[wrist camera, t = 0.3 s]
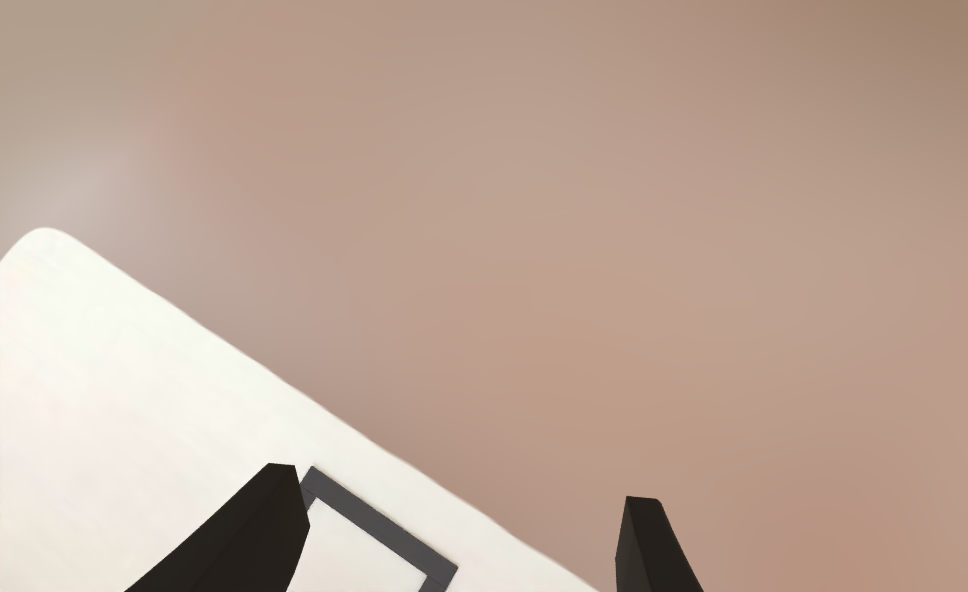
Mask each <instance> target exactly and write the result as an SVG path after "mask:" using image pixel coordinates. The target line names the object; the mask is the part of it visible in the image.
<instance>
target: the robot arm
mask: <svg viewBox="0 0 968 592" xmlns="http://www.w3.org/2000/svg"><path fill="white" fill-rule="evenodd" d="M309 529H310V523H309V519H308V515H307V511H306V508H305V504H304V500H303V496H302V492H301V488H300V484H299V480H298V477H297V473H296V469H295V465H285V464H274V463H268V464H267V465H266V466H265V467H264V468H262V469H261V470H260V471H259V472H258V473H257V474H256V475H255V476H254V477H253V478H252V479H251V480H250V481H248V482H247V483H246V484H245V485H244V486H243V487H242V488H241V489H240V490H239V491H238V492H237V493H236V494H235V495H234V496H233V497H231V498H230V499H229V500H228V501H227V502H226V503H225V504H224V505H223V506H222V507H221V508H220V509H219V510H218V511H217V512H215V513H214V514H213V515H212V516H211V517H210V518H209V519H208V520H207V521H206V522H205V523H203V524H202V525H201V526H200V527H199V528H198V529H197V530H196V531H195V532H193V533H192V534H191V535H190V536H189V537H188V538H187V539H186V540H185V541H184V542H182V543H181V544H180V545H179V546H178V547H177V548H176V549H175V550H173V551H172V552H171V553H170V554H169V555H168V556H166V557H165V558H164V559H163V560H162V561H160V562H159V563H158V564H157V565H156V566H154V567H153V568H152V569H151V570H150V571H149V572H147V573H146V574H145V575H144V576H143V577H141V578H140V579H139V580H138V581H137V582H136V583H134V584H133V585H132V586H131V587H129V588H128V589H127V590H126V591H124V592H286V590H287V588H288V586H289V584H290V582H291V579H292V577H293V575H294V573H295V570H296V567H297V564H298V561H299V559H300V556H301V553H302V550H303V547H304V544H305V541H306V538H307V535H308V532H309ZM615 562H616V583H617V592H704V591H703V589H702V588H701V586H700V584H699V582H698V580H697V578H696V576H695V574H694V573H693V571H692V569H691V567H690V565H689V563H688V561H687V559H686V557H685V555H684V553H683V551H682V549H681V547H680V545H679V542H678V541H677V538H676V536H675V534H674V532H673V530H672V528H671V525H670V523H669V521H668V518H667V516H666V514H665V511H664V509H663V507H662V504H661V503H660V502H659V501H658V500H657V499H653V498H642V497H632V496H626V502H625V507H624V513H623V518H622V524H621V529H620V535H619V541H618V546H617V552H616V557H615Z"/></svg>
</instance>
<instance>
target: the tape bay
mask: <svg viewBox="0 0 968 592" xmlns="http://www.w3.org/2000/svg"><path fill="white" fill-rule="evenodd" d="M300 488H301V492H302V496H303V500H304V504H305V508H306V511H307V510H308V509H309V507H310V505H311V504H312V502H313V501H314V499H315V497H318V498H319V499H320V500H322V501H323V502H325V503H326V504H327V505H329V506H330V507H332V508H333V509H334V510H336V511H337V512H339V513H340V514H342V515H343V516H344V517H346V518H347V519H349V520H350V521H351V522H353V523H354V524H356V525H357V526H358V527H360V528H361V529H363V530H364V531H366V532H367V533H368V534H370V535H371V536H373V537H374V538H375V539H377V540H378V541H380V542H381V543H382V544H384V545H385V546H387V547H388V548H390V549H391V550H392V551H394V552H395V553H397V554H398V555H399V556H401V557H402V558H404V559H405V560H406V561H408V562H409V563H411V564H412V565H414V566H415V567H416V568H418V569H419V570H421V571H422V572H423V573H425V574H426V575H428V576H427V578H426V580H425V581H424V583H423V585H422V587H421V588H420V590H419V592H445V590H446V588H447V587H448V585H449V583H450V581H451V579H452V578H453V576H454V574H455V572H456V570H457V569H458V567H457V566H455V565H454V564H452V563H451V562H450V561H448V560H447V559H445V558H444V557H442V556H441V555H439V554H438V553H437V552H435V551H434V550H432V549H431V548H429V547H428V546H426V545H425V544H424V543H422V542H421V541H419V540H418V539H416V538H415V537H413V536H412V535H411V534H409V533H408V532H406V531H405V530H403V529H402V528H401V527H399V526H398V525H396V524H395V523H393V522H392V521H390V520H389V519H388V518H386V517H385V516H383V515H382V514H380V513H379V512H377V511H376V510H375V509H373V508H372V507H370V506H369V505H367V504H366V503H364V502H363V501H362V500H360V499H359V498H357V497H356V496H354V495H353V494H351V493H350V492H349V491H347V490H346V489H344V488H343V487H341V486H340V485H339V484H337V483H336V482H334V481H333V480H331V479H330V478H328V477H327V476H326V475H324V474H323V473H321V472H320V471H318V470H317V469H315V468H314V467H313V466H311V467H310V469H309V471H308V472H307V474H306V475H305V477H304V478H303V480H302V482H301V483H300Z"/></svg>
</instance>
